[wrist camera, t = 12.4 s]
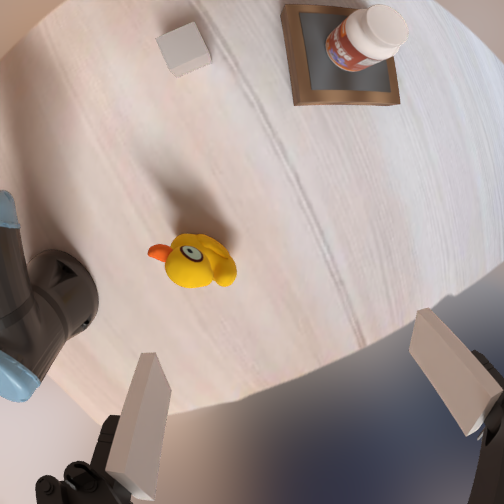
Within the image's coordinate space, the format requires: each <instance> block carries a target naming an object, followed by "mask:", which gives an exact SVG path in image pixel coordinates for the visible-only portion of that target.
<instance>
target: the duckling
mask: <svg viewBox="0 0 504 504" xmlns="http://www.w3.org/2000/svg"><path fill="white" fill-rule="evenodd" d="M148 256H150V257H153V258H155V259H157V260H160V261H162V262H165V270H166V273H167V275H168V277H169V278H170V279H171V280H172V281H173V282H174V283H176V284H177V285H179V286H181V287H185V288H197V287H202V286H207V285H209V284H210V283H211V282H212V280H213V281H216V283H217V284H219V285H220V286H223V287H226V286H229V285H231V284H232V283H233V282H234V280H235V278H236V275H237V269H236V265H235V262H234V260H233V259H232V257H231V256H230V255H229V252H228V251H227V249H226V248H225V247H224V246H223V245H221V244H220V243H219V242H218V241H216V240H215V239H213V238H211V237H209V236H207V235H204V234H197V235H195V234H181V235H179V236H177V237H176V238H175V239H174V240H173V242H172V243H171V246H170V247H169V246H167V245H162V244H157V245H154V246H152V247H150V248H149V250H148Z"/></svg>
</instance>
